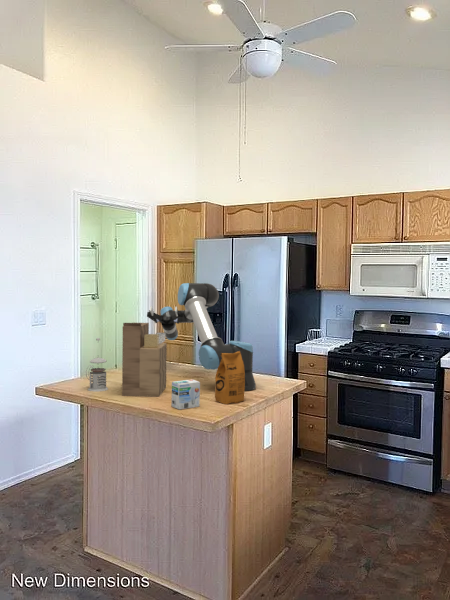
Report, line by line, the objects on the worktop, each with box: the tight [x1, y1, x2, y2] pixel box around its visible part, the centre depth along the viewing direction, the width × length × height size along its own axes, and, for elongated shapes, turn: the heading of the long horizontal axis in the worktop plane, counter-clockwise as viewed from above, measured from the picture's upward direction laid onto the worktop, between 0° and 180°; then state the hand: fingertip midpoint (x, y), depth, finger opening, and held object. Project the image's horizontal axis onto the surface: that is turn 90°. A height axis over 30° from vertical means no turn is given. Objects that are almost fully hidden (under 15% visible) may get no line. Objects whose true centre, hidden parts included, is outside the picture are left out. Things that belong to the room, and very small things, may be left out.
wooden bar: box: [144, 332, 166, 348], centre depth 254 cm, size 28×6×6 cm, turn 177°
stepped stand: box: [121, 322, 168, 398], centre depth 247 cm, size 20×17×34 cm
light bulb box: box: [171, 378, 201, 410], centre depth 221 cm, size 11×7×11 cm, turn 126°
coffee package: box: [214, 351, 245, 405], centre depth 231 cm, size 10×12×22 cm
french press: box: [85, 337, 109, 392], centre depth 250 cm, size 10×12×25 cm
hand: (163, 308), depth 279 cm, fingers open, 13 cm apart
